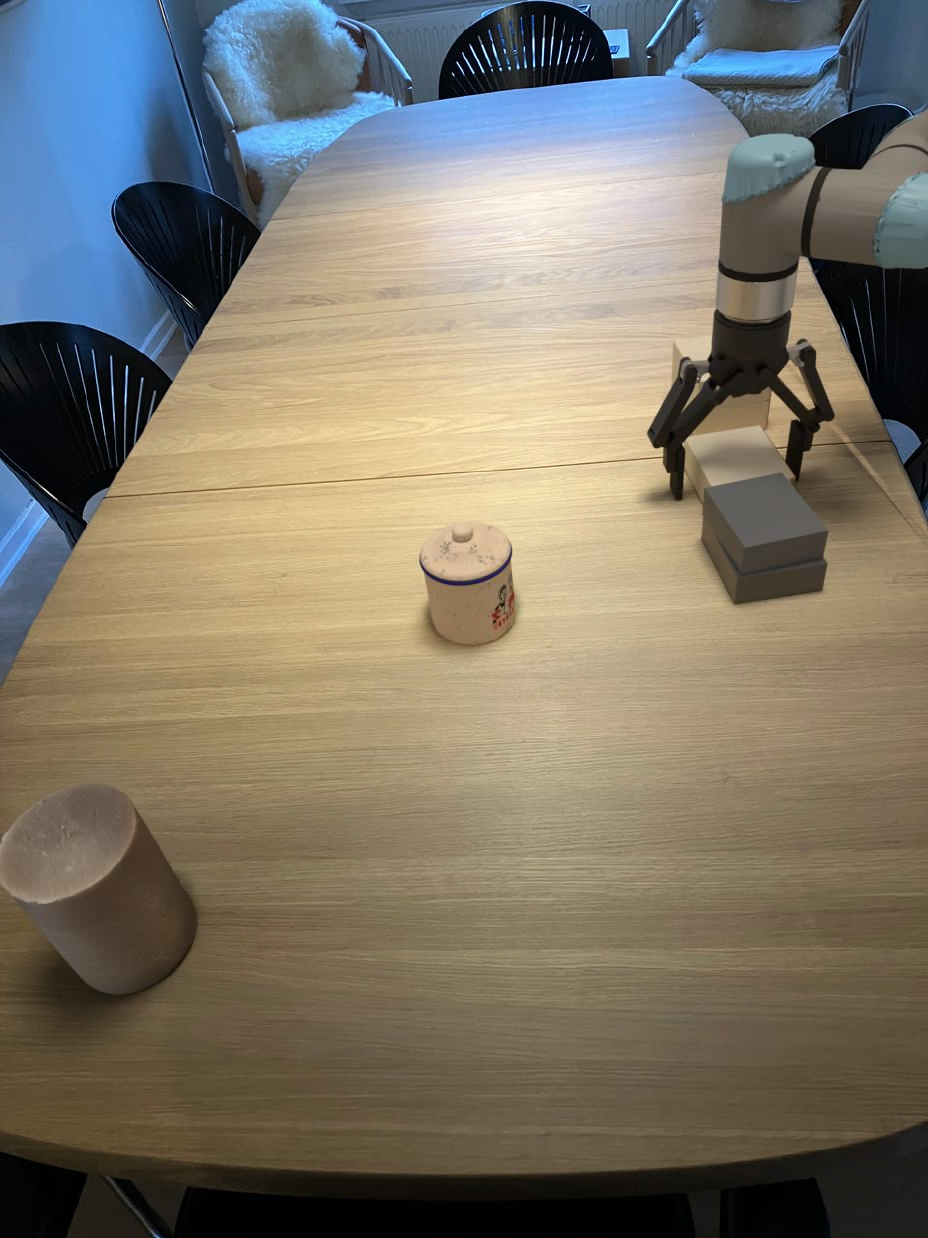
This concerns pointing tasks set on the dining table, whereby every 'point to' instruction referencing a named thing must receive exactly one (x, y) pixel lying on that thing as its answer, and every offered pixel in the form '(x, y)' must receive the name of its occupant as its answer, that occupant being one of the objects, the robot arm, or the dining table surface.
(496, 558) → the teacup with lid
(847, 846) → the dining table surface
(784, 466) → the cream book
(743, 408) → the cream books
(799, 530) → the grey books
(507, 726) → the dining table surface
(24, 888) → the pillar candle
